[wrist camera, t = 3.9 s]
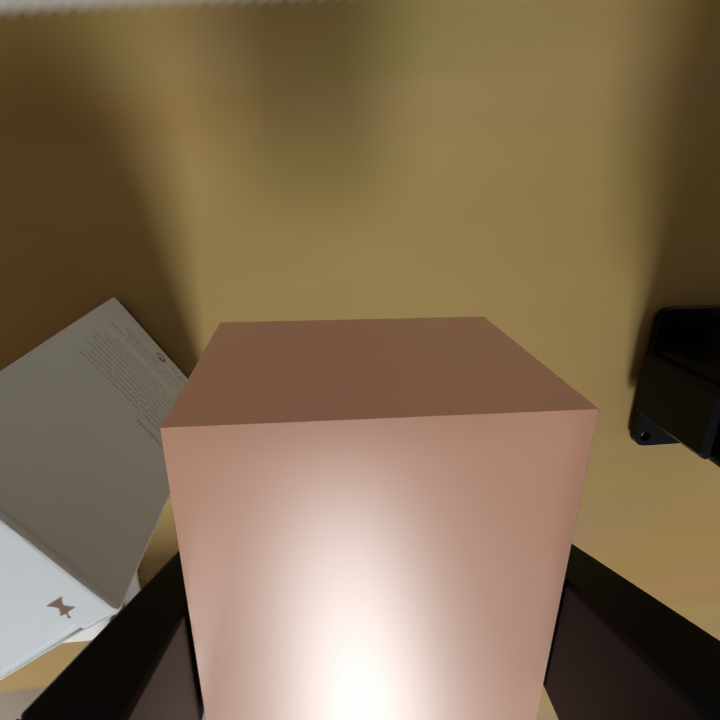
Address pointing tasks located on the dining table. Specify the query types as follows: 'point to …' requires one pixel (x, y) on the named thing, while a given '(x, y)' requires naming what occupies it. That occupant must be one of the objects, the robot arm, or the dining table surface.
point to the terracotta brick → (374, 518)
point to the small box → (78, 477)
